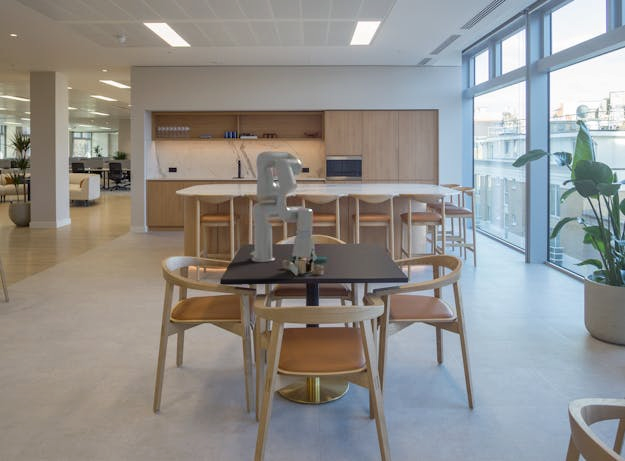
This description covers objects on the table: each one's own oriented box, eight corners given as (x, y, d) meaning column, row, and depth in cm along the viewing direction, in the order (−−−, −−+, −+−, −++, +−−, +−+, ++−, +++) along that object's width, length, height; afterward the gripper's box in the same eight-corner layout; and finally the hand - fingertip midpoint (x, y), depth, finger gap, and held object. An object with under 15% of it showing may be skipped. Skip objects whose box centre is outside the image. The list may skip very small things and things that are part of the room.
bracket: (293, 262, 311) (293, 248, 310) (295, 260, 318) (295, 246, 317) (326, 263, 309) (326, 248, 308) (327, 261, 315) (328, 247, 314)
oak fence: (282, 268, 293) (282, 260, 292) (285, 268, 294) (285, 259, 294) (321, 275, 277) (321, 266, 276) (324, 274, 279) (324, 265, 278)
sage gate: (290, 269, 290) (290, 262, 289) (294, 269, 290) (294, 262, 290) (295, 275, 275) (295, 267, 275) (299, 275, 275) (299, 267, 275)
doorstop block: (294, 272, 283) (294, 259, 282) (305, 269, 289) (306, 257, 288) (302, 273, 280) (302, 261, 279) (313, 271, 286) (313, 259, 285)
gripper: (286, 232, 284) (285, 269, 287) (313, 237, 273) (312, 274, 276) (296, 231, 290) (295, 266, 292) (323, 235, 279) (322, 272, 282)
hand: (303, 270), depth 284 cm, fingers closed on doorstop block, 5 cm apart
